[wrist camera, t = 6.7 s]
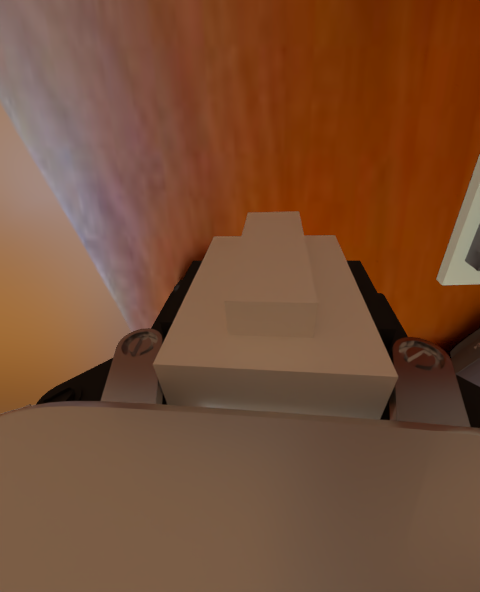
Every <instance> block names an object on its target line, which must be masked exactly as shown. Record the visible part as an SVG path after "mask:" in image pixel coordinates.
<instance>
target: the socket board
mask: <svg viewBox="0 0 480 592" xmlns="http://www.w3.org/2000/svg"><path fill="white" fill-rule="evenodd" d="M437 280H438V281H439V283H440V284H441V285H466V284H480V155H479V158H478V161H477V164H476V166H475V169H474V172H473V175H472V178H471V181H470V184H469V187H468V189H467V192H466V195H465V198H464V201H463V204H462V207H461V210H460V213H459V215H458V218H457V221H456V224H455V227H454V230H453V233H452V236H451V238H450V241H449V244H448V247H447V250H446V253H445V256H444V259H443V261H442V264H441V267H440V270H439V273H438V276H437Z"/></svg>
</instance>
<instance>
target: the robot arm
mask: <svg viewBox="0 0 480 592" xmlns="http://www.w3.org/2000/svg"><path fill="white" fill-rule="evenodd" d="M201 263H202V261H193V262H192V264H191V266H190V267H189V269H188V271H187V273H186V275H185V277H184V278H183V280H182V282H181V284H180V286H179V288H178V289H177V290H174V291H172V293H171V294H170V296H169V298H168V300H167V301H166V303H165V305H164V307H163V308H162V310H161V312H160V314H159V315H158V317H157V319H156V321H155V322H154V324H153V326H152V328H151V329H149V328H148V329H140V330H136V331H133V332H131V333H129V334H128V335H126V336H125V337H123V338H122V339H121V340H120V342H119V343H118V345H117V347H116V351H115V354H114V357H113V358H112V359H110V360H108V361H106V362H104V363H102V364H100V365H98V366H96V367H94V368H92V369H90V370H88V371H86V372H84V373H82V374H80V375H78V376H76V377H74V378H72V379H70V380H68V381H66V382H64V383H62V384H60V385H58V386H56V387H54V388H53V389H51V390H50V391H48V392H47V393H46V394H45V395H44V396H42V397H41V399H40V400H39V401H38V402H37V404H36V405H33V406H31V404H29V405H27V406H25V407H23V408H20V409H16V410H12V411H8V412H5V413H2V414H0V592H480V387H479V386H477V385H475V384H473V383H471V382H470V381H468V380H466V379H464V378H462V377H460V376H458V375H456V374H455V371H454V368H453V364H452V361H451V359H450V357H449V355H448V354H447V353H446V352H445V351H444V350H443V349H442V348H440V347H439V346H437V345H436V344H434V343H432V342H429V341H427V340H424V339H420V338H414V337H408V336H407V334H406V333H405V331H404V329H403V327H402V326H401V324H400V322H399V320H398V319H397V317H396V315H395V313H394V312H393V310H392V308H391V306H390V305H389V303H388V301H387V299H386V298H385V296H384V295H383V294H381V293H377V291H376V289H375V288H374V286H373V284H372V282H371V280H370V278H369V277H368V275H367V273H366V271H365V269H364V267H363V265H362V264H361V262H360V261H347V263H348V266H349V268H350V270H351V272H352V274H353V277H354V279H355V281H356V283H357V286H358V288H359V290H360V292H361V294H362V297H363V299H364V301H365V303H366V306H367V308H368V310H369V312H370V314H371V317H372V319H373V321H374V323H375V326H376V328H377V330H378V332H379V335H380V337H381V339H382V341H383V343H384V346H385V348H386V350H387V352H388V355H389V357H390V359H391V361H392V363H393V366H394V368H395V370H396V372H397V375H398V379H397V382H396V384H395V386H394V388H393V391H392V393H391V395H390V398H389V400H388V402H387V405H386V407H385V409H384V411H383V414H382V416H381V418H380V420H379V419H365V418H352V417H339V416H325V415H311V414H297V413H283V412H269V411H254V410H240V409H225V408H210V407H194V406H179V405H167V402H166V399H165V397H164V394H163V391H162V388H161V386H160V383H159V380H158V377H157V375H156V372H155V369H154V366H153V363H154V361H155V359H156V356H157V354H158V352H159V350H160V348H161V346H162V344H163V342H164V340H165V338H166V336H167V334H168V331H169V329H170V327H171V325H172V323H173V321H174V319H175V317H176V315H177V313H178V311H179V309H180V307H181V304H182V302H183V300H184V298H185V296H186V294H187V292H188V290H189V288H190V286H191V284H192V282H193V279H194V277H195V275H196V273H197V271H198V269H199V267H200V265H201Z"/></svg>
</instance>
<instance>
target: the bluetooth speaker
mask: <svg viewBox="0 0 480 592" xmlns="http://www.w3.org/2000/svg"><path fill="white" fill-rule="evenodd" d="M450 355H451V361H452V364H453V368H454V371H455V374H456V375H458V376H460V377H462V378H464V379H466V380H468V381H470V382H471V383H473V384H475V385H477V386H479V387H480V328H479V329H478V330H477V331H475V332H474V333H472V334H471V335H469V336H468V337H467V338H465V339H464V340H463V341H462V342H460V343H459V344H458V345H457V346H455V347H454V348H453V349H452V350H451V351H450Z"/></svg>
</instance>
